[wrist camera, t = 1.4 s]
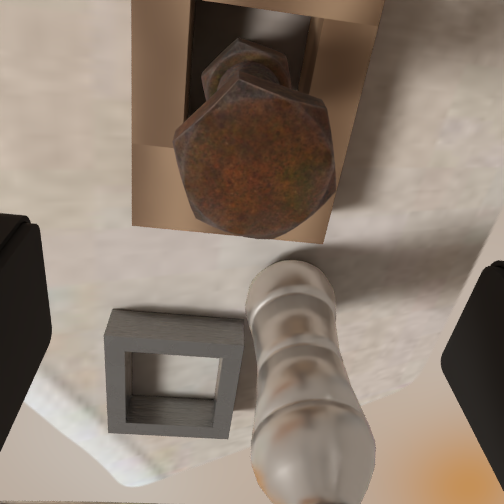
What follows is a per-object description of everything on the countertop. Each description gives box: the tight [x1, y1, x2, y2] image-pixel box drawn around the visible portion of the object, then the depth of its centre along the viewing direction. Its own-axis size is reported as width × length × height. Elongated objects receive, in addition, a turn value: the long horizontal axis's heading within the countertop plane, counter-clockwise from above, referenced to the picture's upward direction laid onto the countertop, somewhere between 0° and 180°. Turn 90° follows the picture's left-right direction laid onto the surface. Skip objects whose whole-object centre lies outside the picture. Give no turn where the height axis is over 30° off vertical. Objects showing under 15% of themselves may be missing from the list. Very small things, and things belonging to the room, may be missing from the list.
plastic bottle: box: [245, 260, 376, 504], centre depth 28 cm, size 6×7×20 cm
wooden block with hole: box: [131, 0, 385, 244], centre depth 26 cm, size 12×18×4 cm, turn 172°
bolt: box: [172, 38, 336, 239], centre depth 22 cm, size 6×5×15 cm
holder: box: [104, 309, 244, 439], centre depth 40 cm, size 10×12×3 cm
